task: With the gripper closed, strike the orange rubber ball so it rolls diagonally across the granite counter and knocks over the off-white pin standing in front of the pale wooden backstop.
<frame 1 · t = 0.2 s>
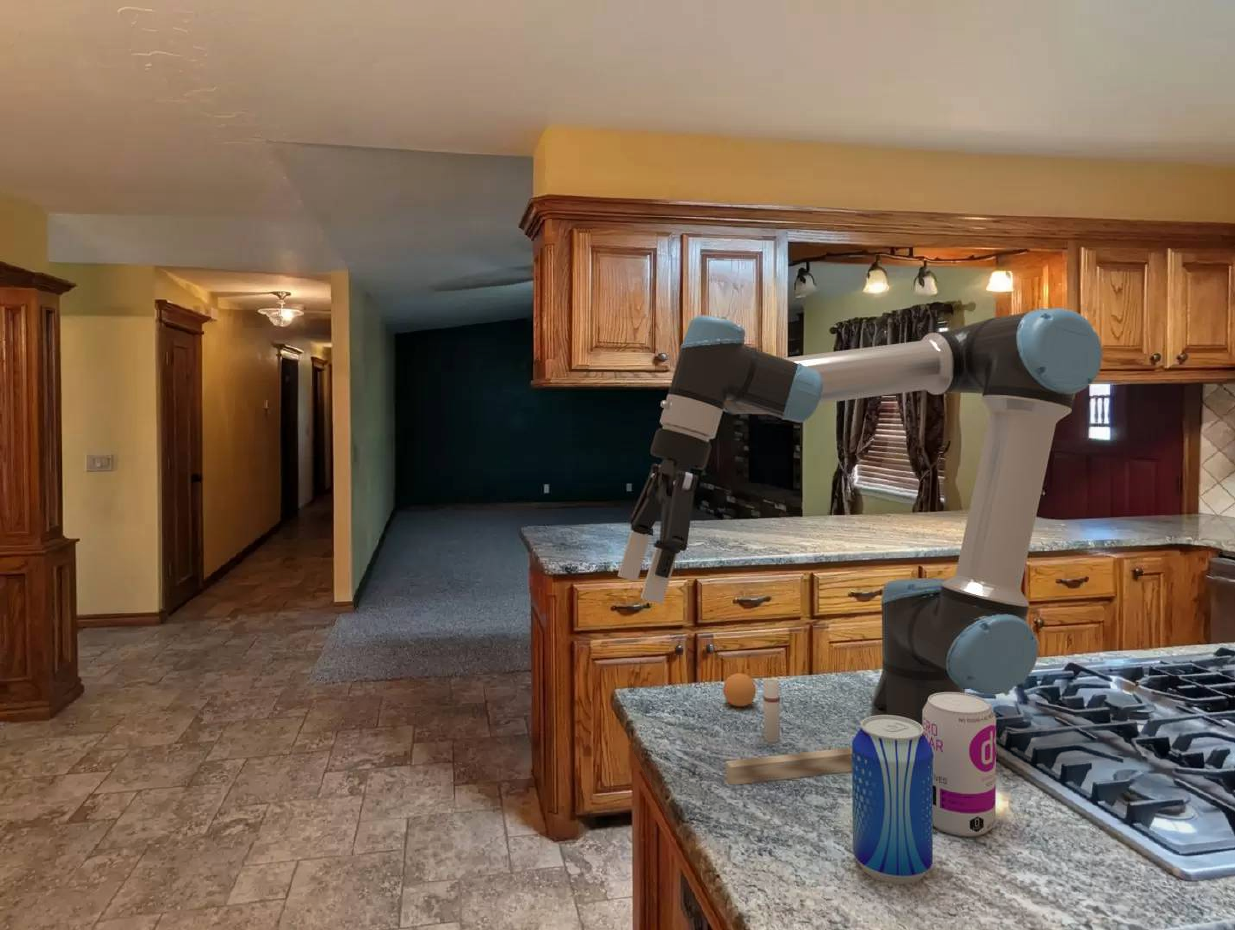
hand: (638, 589, 108), 28 cm above the countertop, tool tilted 20°, fingers open, 13 cm apart
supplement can: (958, 823, 101), on the countertop
beer can: (892, 868, 91), on the countertop
backstop: (804, 773, 115), on the countertop
ball: (739, 689, 141), on the countertop
pin: (772, 739, 127), on the countertop
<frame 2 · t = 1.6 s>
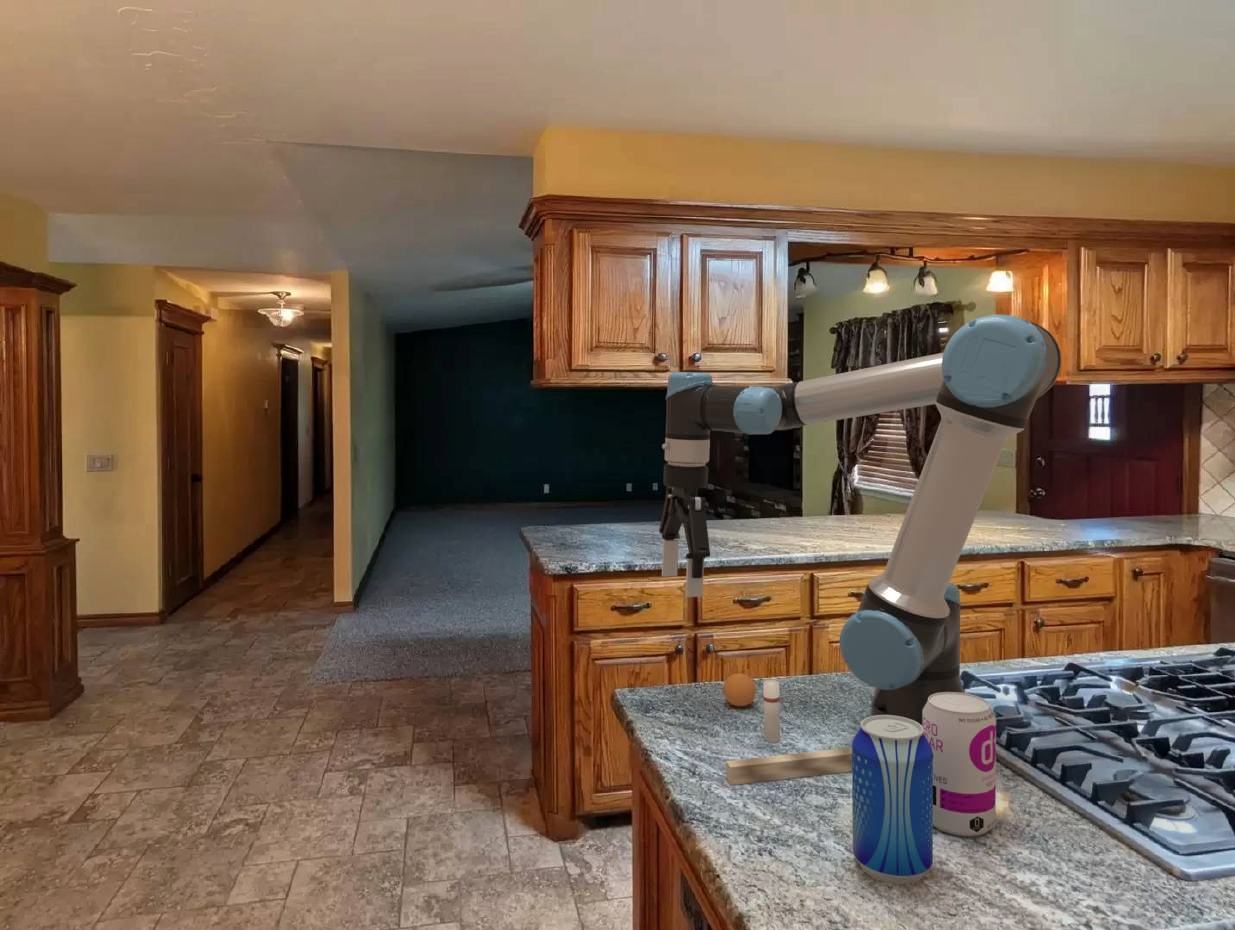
hand: (681, 585, 142), 21 cm above the countertop, tool pointing down, fingers open, 13 cm apart
nothing on the countertop moved.
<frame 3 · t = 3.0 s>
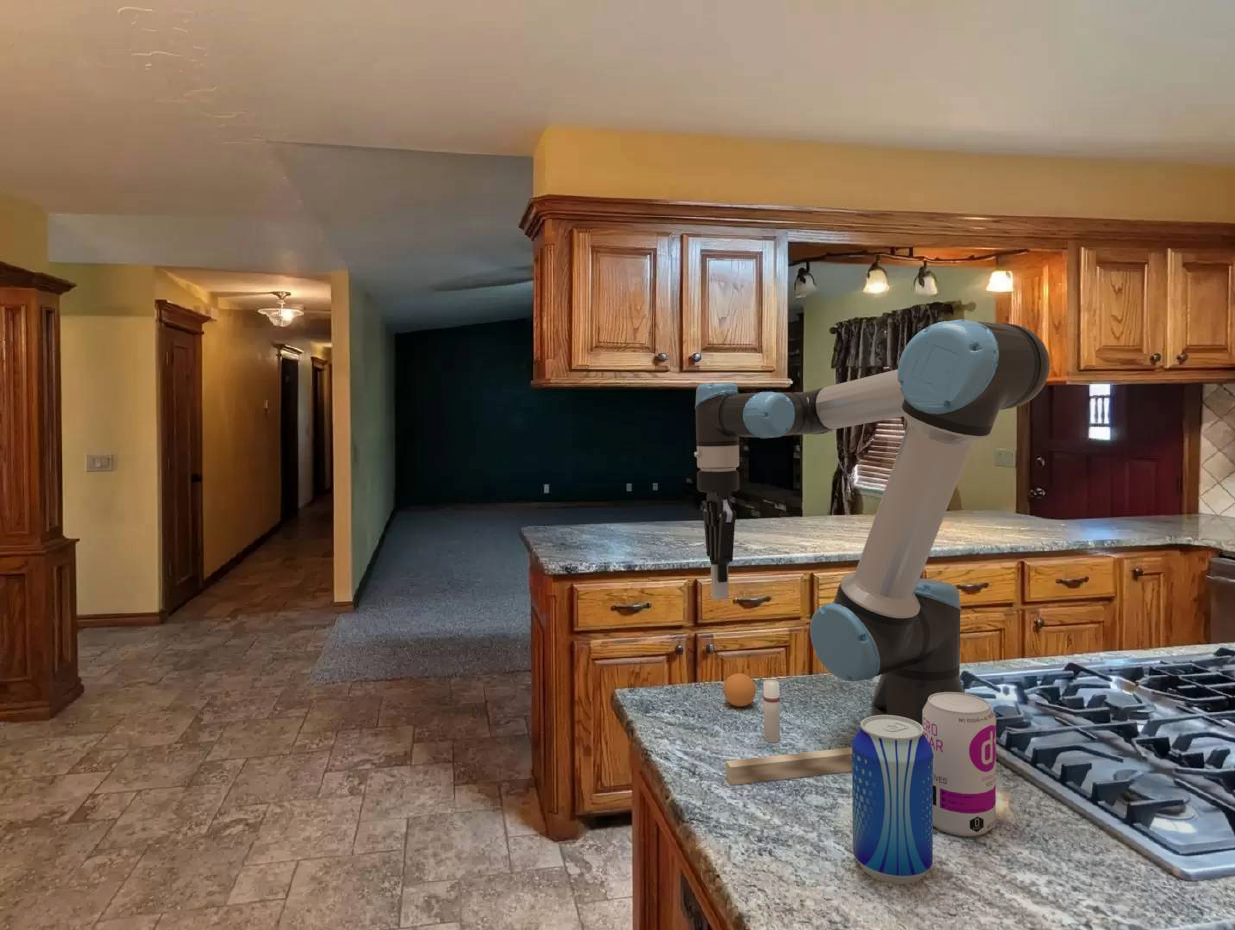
hand: (720, 598, 150), 16 cm above the countertop, tool pointing down, fingers closed
nothing on the countertop moved.
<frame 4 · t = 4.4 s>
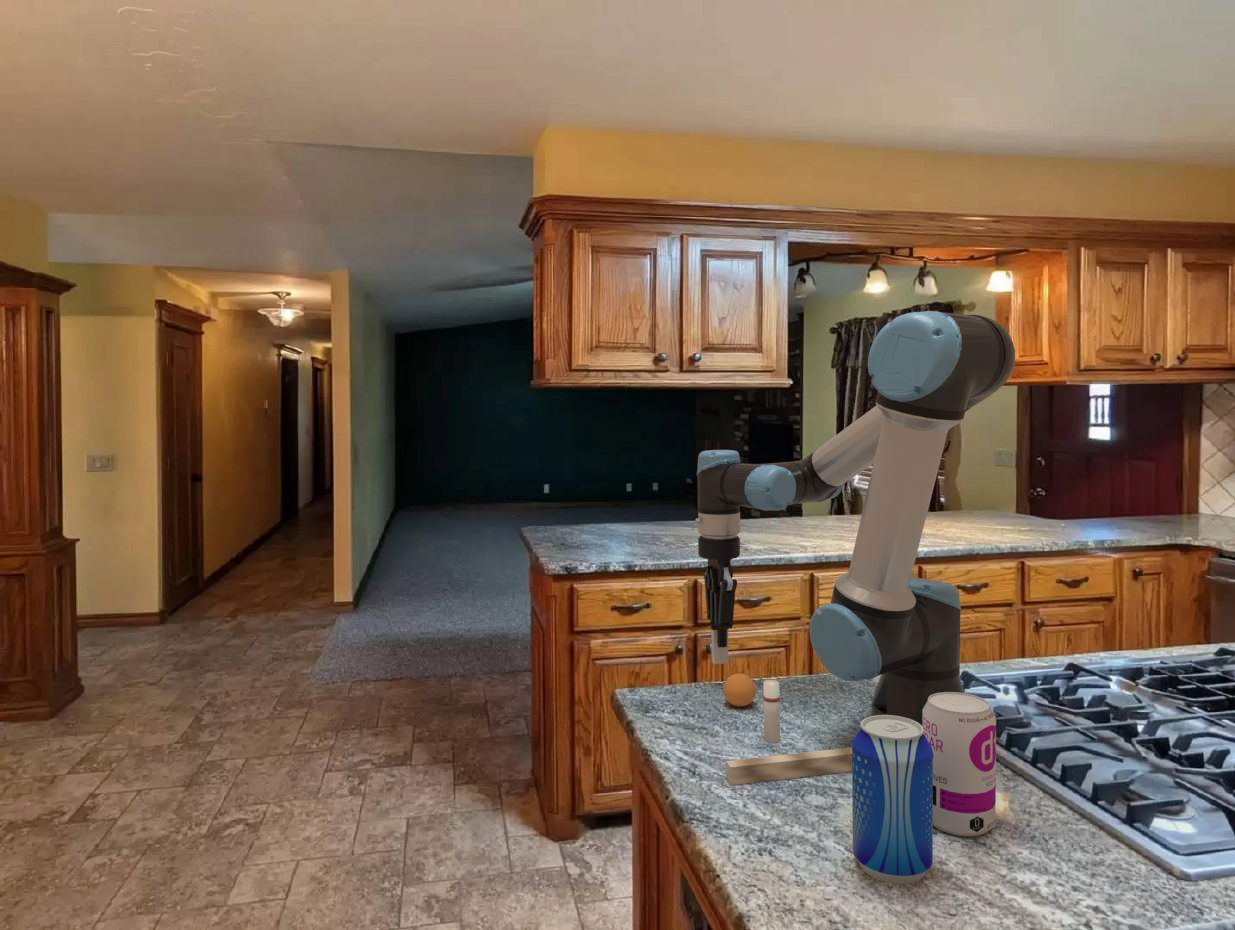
hand: (719, 662, 151), 4 cm above the countertop, tool pointing down, fingers closed
nothing on the countertop moved.
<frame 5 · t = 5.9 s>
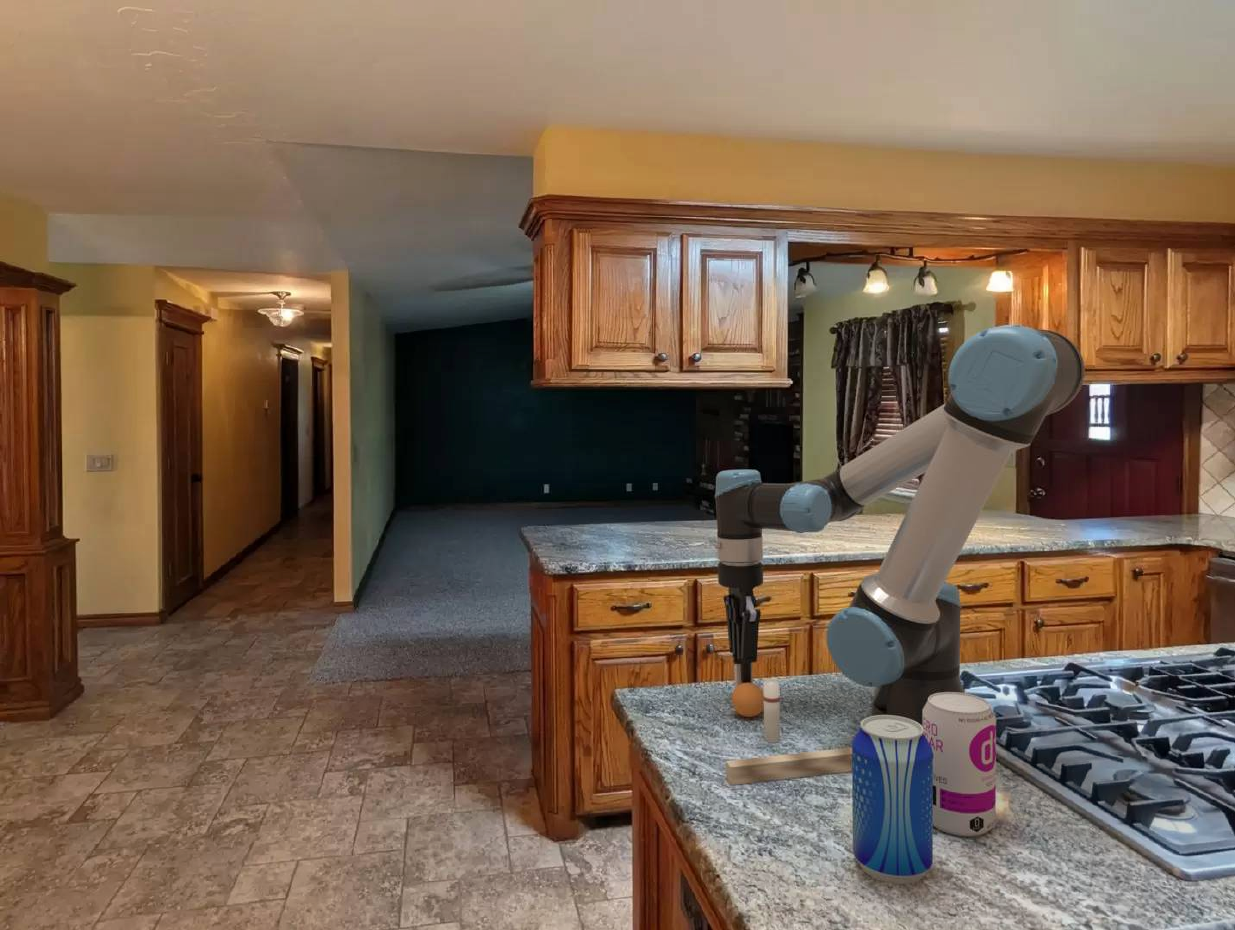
hand: (744, 698, 140), 2 cm above the countertop, tool pointing down, fingers closed
ball: (748, 699, 136), on the countertop
everything else where it was.
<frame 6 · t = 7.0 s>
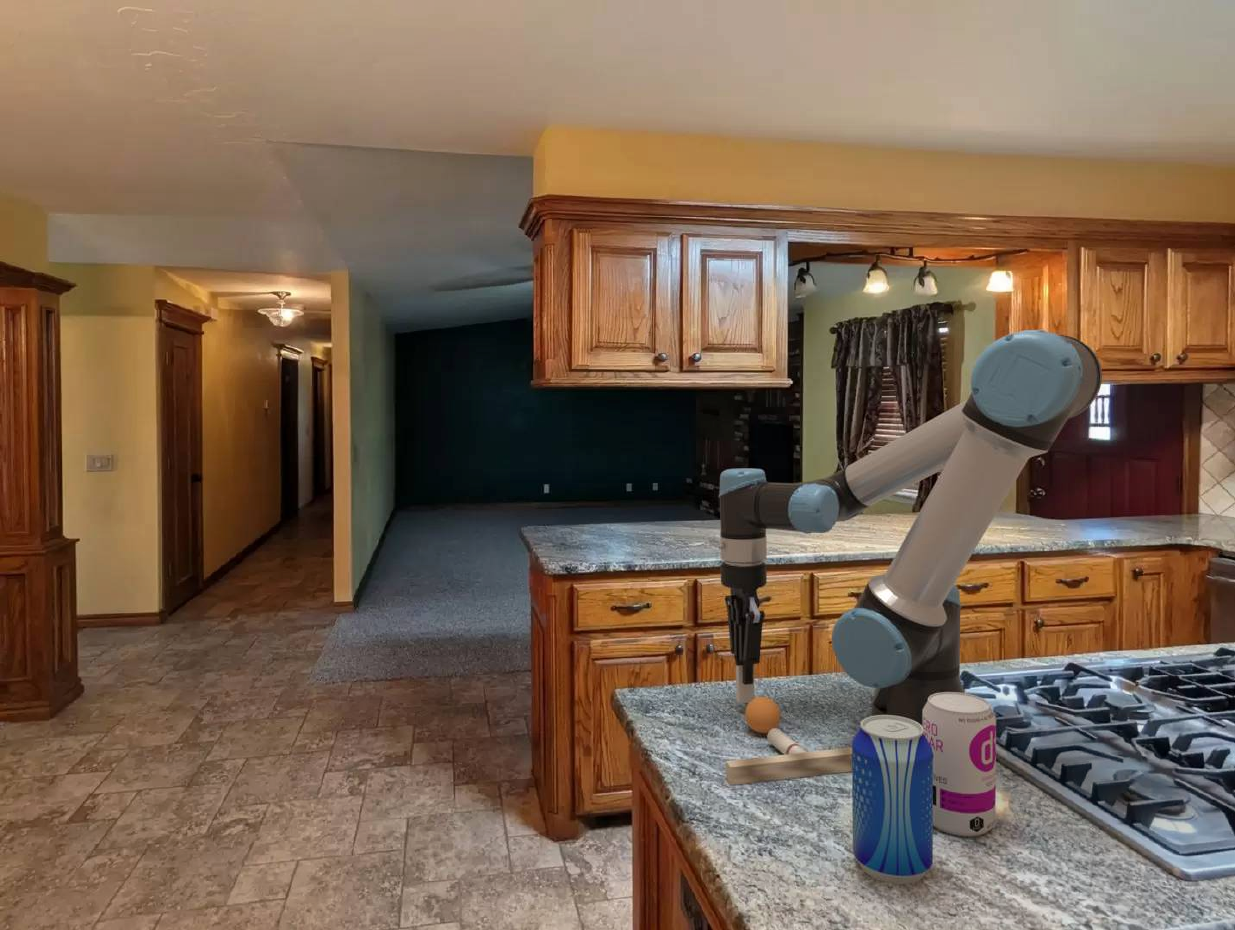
hand: (745, 700, 138), 2 cm above the countertop, tool pointing down, fingers closed
ball: (762, 714, 129), on the countertop
pin: (774, 735, 125), point 1 cm above the countertop, tilted 90°
everything else where it was.
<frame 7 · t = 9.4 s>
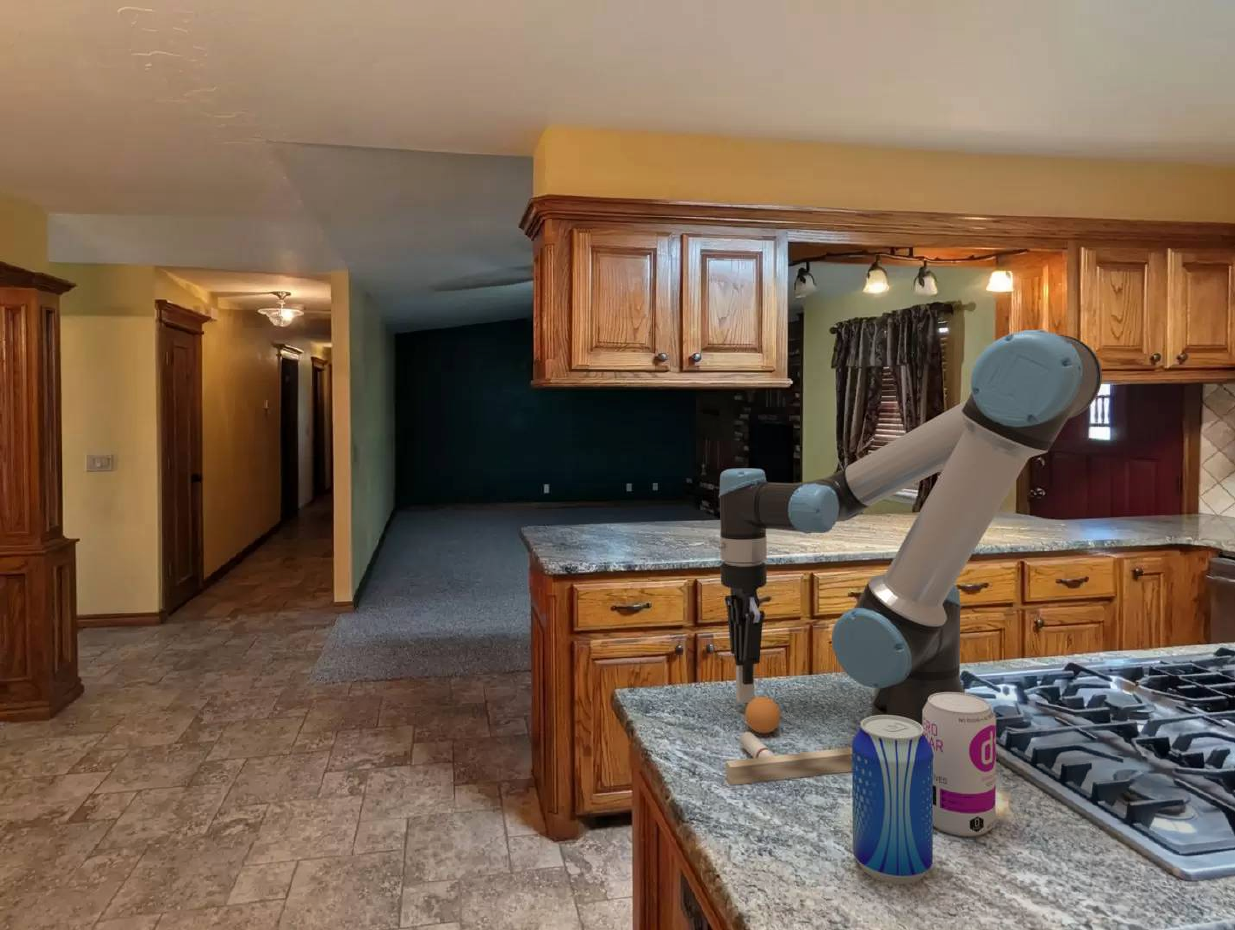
hand: (745, 700, 138), 2 cm above the countertop, tool pointing down, fingers closed
pin: (747, 739, 124), point 1 cm above the countertop, tilted 90°
everything else where it was.
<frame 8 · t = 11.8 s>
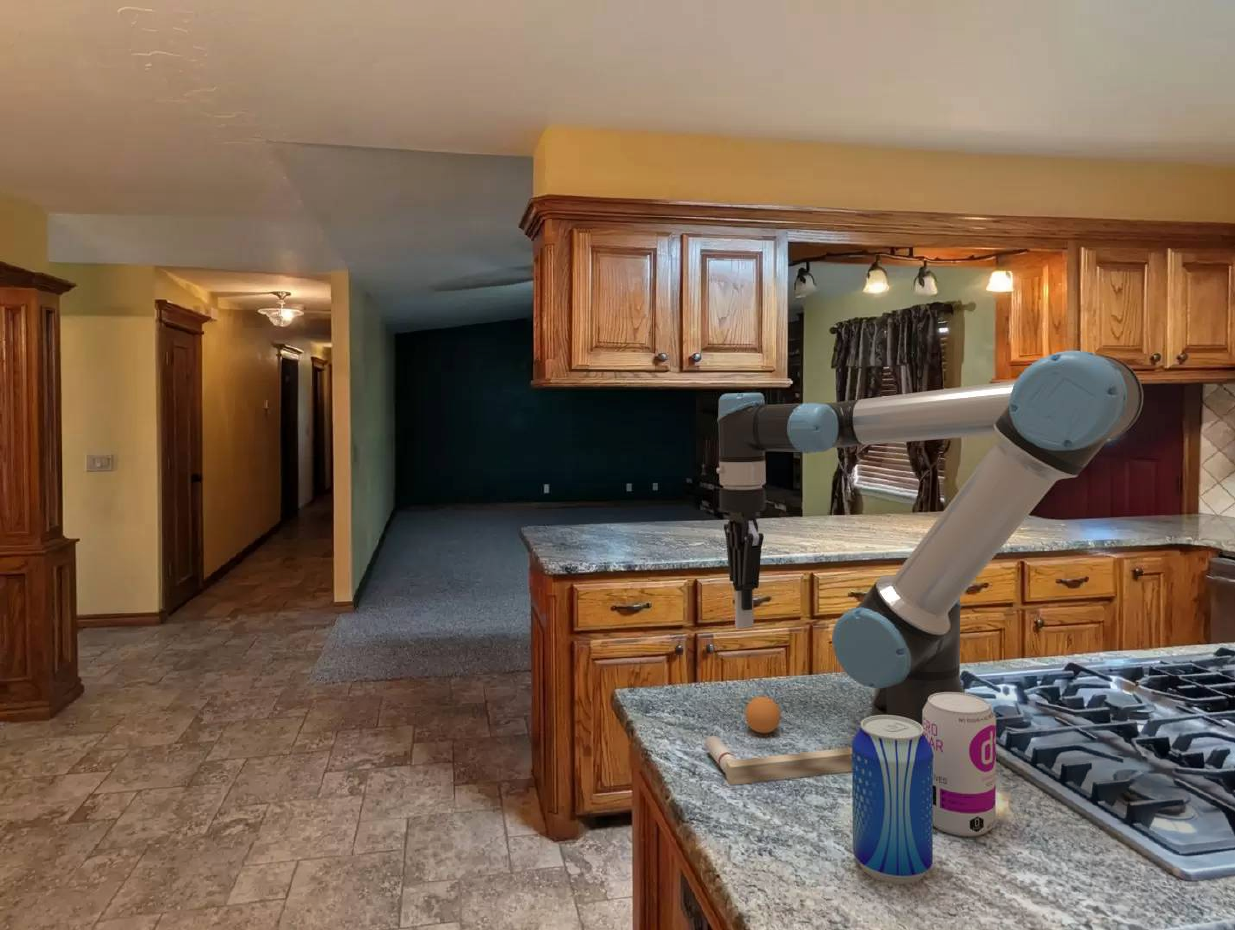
hand: (744, 627, 137), 14 cm above the countertop, tool pointing down, fingers closed
pin: (712, 743, 123), point 1 cm above the countertop, tilted 90°
everything else where it was.
at the end: pin tilted 90°; pin never touched the robot; ball moved 11.8 cm from its start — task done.
